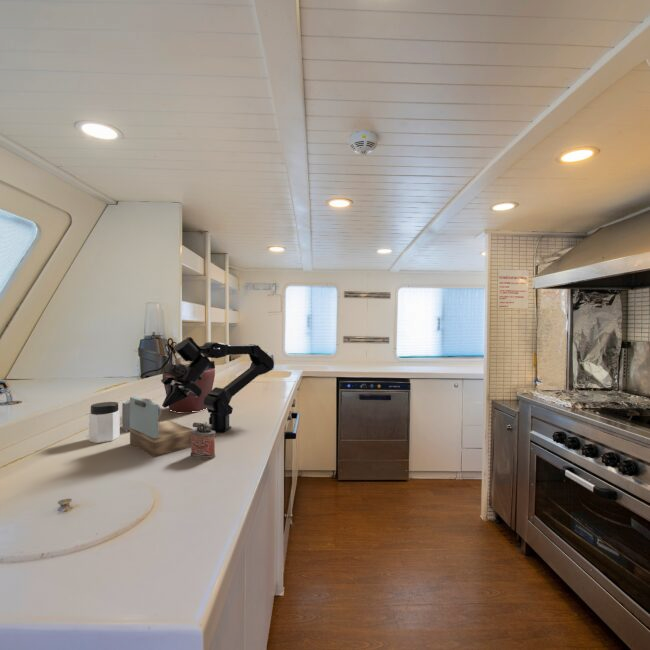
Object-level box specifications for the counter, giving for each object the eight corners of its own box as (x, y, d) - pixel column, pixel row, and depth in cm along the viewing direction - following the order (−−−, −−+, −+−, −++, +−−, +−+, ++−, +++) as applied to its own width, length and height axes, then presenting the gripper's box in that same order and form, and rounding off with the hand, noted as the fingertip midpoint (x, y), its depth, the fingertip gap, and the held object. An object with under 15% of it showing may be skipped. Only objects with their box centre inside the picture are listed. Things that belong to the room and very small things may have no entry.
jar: (88, 444, 115) (88, 408, 116) (89, 438, 122) (89, 403, 122) (120, 439, 120) (120, 404, 120) (118, 433, 127) (119, 400, 127)
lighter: (217, 456, 105) (217, 422, 105) (210, 460, 102) (210, 425, 102) (195, 452, 108) (195, 420, 108) (187, 456, 104) (187, 423, 105)
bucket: (188, 417, 151) (188, 358, 151) (149, 413, 159) (149, 357, 159) (224, 405, 173) (223, 354, 174) (188, 402, 181) (188, 353, 182)
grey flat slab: (133, 426, 117) (133, 396, 117) (158, 437, 106) (158, 404, 106) (127, 428, 116) (127, 397, 116) (151, 439, 104) (151, 405, 104)
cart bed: (168, 434, 126) (168, 420, 126) (194, 445, 115) (194, 429, 115) (129, 443, 116) (130, 428, 116) (154, 456, 105) (154, 439, 105)
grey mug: (119, 431, 130) (119, 404, 130) (125, 424, 139) (125, 399, 139) (159, 428, 134) (159, 402, 134) (162, 421, 144) (162, 397, 144)
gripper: (166, 353, 126) (133, 388, 118) (193, 356, 114) (158, 395, 106) (187, 373, 132) (157, 408, 124) (215, 378, 120) (183, 416, 111)
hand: (163, 406), depth 116 cm, fingers closed
